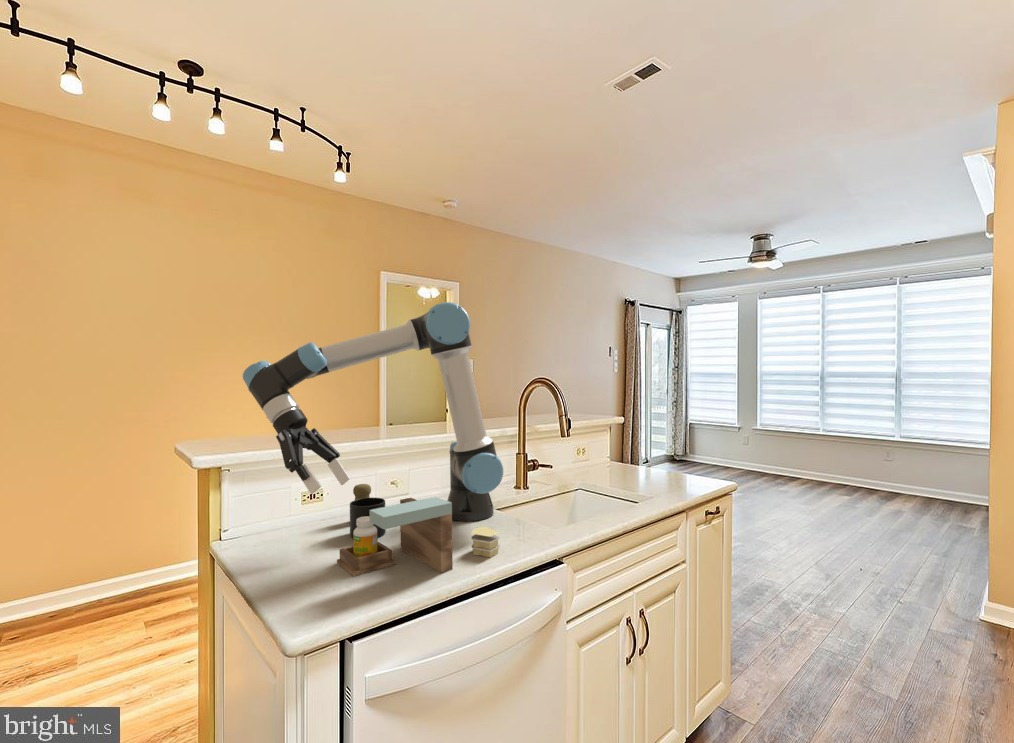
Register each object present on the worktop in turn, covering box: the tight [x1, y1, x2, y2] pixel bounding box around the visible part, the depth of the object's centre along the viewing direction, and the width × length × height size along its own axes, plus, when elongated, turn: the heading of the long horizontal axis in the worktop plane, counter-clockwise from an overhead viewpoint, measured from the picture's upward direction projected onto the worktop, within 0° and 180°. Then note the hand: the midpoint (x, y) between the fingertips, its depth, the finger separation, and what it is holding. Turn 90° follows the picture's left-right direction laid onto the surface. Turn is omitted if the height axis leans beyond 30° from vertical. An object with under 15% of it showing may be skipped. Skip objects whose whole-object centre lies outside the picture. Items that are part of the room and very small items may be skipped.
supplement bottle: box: [352, 516, 378, 558], centre depth 114 cm, size 5×5×10 cm
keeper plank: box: [370, 496, 452, 530], centre depth 107 cm, size 16×7×2 cm, turn 130°
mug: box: [349, 497, 387, 539], centre depth 133 cm, size 9×12×9 cm
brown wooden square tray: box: [336, 540, 397, 577], centre depth 114 cm, size 10×10×3 cm
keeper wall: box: [399, 497, 454, 573], centre depth 116 cm, size 3×19×12 cm, turn 40°
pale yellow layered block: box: [470, 526, 501, 558], centre depth 120 cm, size 10×9×6 cm
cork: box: [352, 483, 372, 500], centre depth 147 cm, size 6×6×11 cm
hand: (332, 486), depth 118 cm, fingers open, 13 cm apart
